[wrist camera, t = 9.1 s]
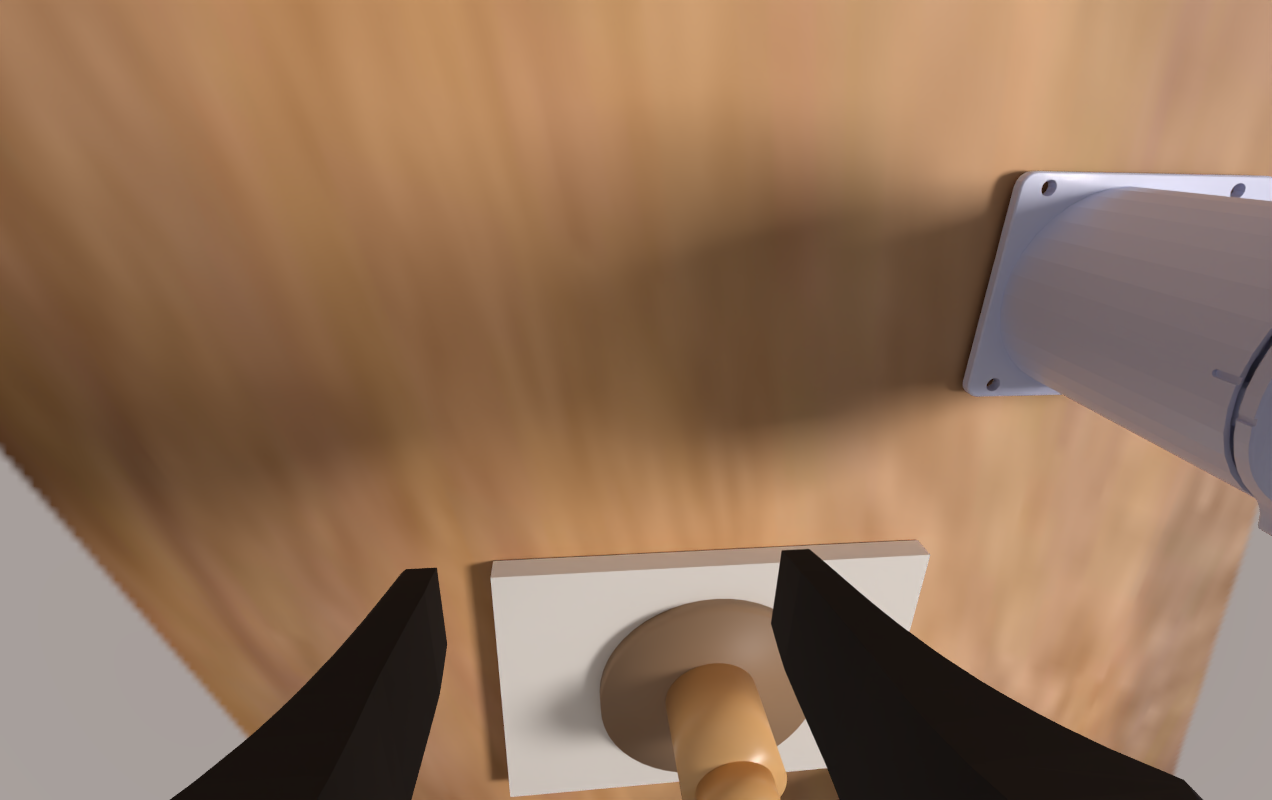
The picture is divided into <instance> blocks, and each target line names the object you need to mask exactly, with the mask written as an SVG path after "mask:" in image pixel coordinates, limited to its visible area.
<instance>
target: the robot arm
mask: <svg viewBox="0 0 1272 800" xmlns="http://www.w3.org/2000/svg"><path fill="white" fill-rule="evenodd" d="M1046 181H1047V182H1048V188H1047V190H1046V192H1044V193H1043V194H1042V192H1041V190H1042V186H1043V184H1044V183H1045V182H1046ZM1233 187H1234V189H1233ZM1232 189H1233V192H1232V193H1231V190H1232ZM1230 193H1231V195H1230ZM991 379H993V382H992V384H991V385H989V386H987V383H988V382H989V381H990V380H991ZM963 388H964V390H965V391H966V392H967V393H969V394H970V395H972V396H976V397H981V396H1025V395H1064V396H1066V397H1068V398H1070V399H1072V400H1073V401H1075V402H1077V403H1079V404H1081V405H1083V406H1085V407H1087V408H1088V409H1090V410H1092V411H1094V412H1096V413H1098V414H1100V415H1101V416H1103V417H1105V418H1107V419H1109V420H1111V421H1113V422H1114V423H1116V424H1118V425H1120V426H1122V427H1124V428H1126V429H1127V430H1129V431H1131V432H1133V433H1135V434H1137V435H1139V436H1141V437H1142V438H1144V439H1146V440H1148V441H1150V442H1152V443H1154V444H1155V445H1157V446H1159V447H1161V448H1163V449H1165V450H1167V451H1168V452H1170V453H1172V454H1174V455H1176V456H1178V457H1180V458H1181V459H1183V460H1185V461H1187V462H1189V463H1191V464H1193V465H1194V466H1196V467H1198V468H1200V469H1202V470H1204V471H1206V472H1208V473H1209V474H1211V475H1213V476H1215V477H1217V478H1219V479H1221V480H1222V481H1224V482H1226V483H1228V484H1230V485H1232V486H1234V487H1235V488H1237V489H1239V490H1241V491H1243V492H1245V493H1247V494H1248V495H1250V496H1252V497H1254V498H1255V499H1256V500H1257V502H1258V504H1259V508H1260V517H1259V522H1258V527H1259V529H1261V530H1262V531H1264V532H1266V533H1268V534H1269V535H1271V536H1272V177H1270V176H1260V175H1212V174H1163V173H1114V172H1065V171H1029V172H1025V173H1024V174H1022V175H1021V176H1020V177H1019V178H1018V179H1017V181H1016V183H1015V185H1014V188H1013V192H1012V196H1011V199H1010V203H1009V207H1008V211H1007V215H1006V219H1005V222H1004V226H1003V230H1002V234H1001V238H1000V242H999V245H998V249H997V253H996V257H995V261H994V265H993V268H992V272H991V276H990V280H989V284H988V288H987V291H986V295H985V299H984V303H983V307H982V311H981V314H980V318H979V322H978V326H977V330H976V334H975V337H974V341H973V345H972V349H971V353H970V357H969V360H968V364H967V368H966V372H965V376H964V380H963ZM771 626H772V629H773V633H774V636H775V640H776V644H777V647H778V650H779V654H780V657H781V660H782V663H783V667H784V670H785V672H786V674H787V677H788V679H789V682H790V684H791V686H792V689H793V691H794V693H795V696H796V698H797V700H798V703H799V705H800V707H801V709H802V712H803V714H804V716H805V719H806V721H807V723H808V725H809V728H810V730H811V732H812V735H813V737H814V739H815V741H816V744H817V746H818V748H819V750H820V753H821V755H822V757H823V760H824V762H825V764H826V766H827V769H828V771H829V774H830V776H831V779H832V781H833V784H834V786H835V789H836V791H837V794H838V797H839V800H1203V799H1202V798H1201V797H1200V796H1199V795H1198V794H1197V793H1196V792H1195V791H1194V790H1193V789H1192V788H1191V787H1190V786H1189V785H1188V784H1187V783H1186V782H1185V781H1184V780H1182V779H1180V778H1178V777H1175V776H1173V775H1171V774H1168V773H1166V772H1164V771H1161V770H1159V769H1156V768H1154V767H1152V766H1149V765H1147V764H1145V763H1142V762H1140V761H1137V760H1135V759H1133V758H1130V757H1128V756H1126V755H1123V754H1121V753H1118V752H1116V751H1114V750H1111V749H1109V748H1107V747H1105V746H1103V745H1101V744H1098V743H1096V742H1094V741H1092V740H1090V739H1088V738H1086V737H1084V736H1082V735H1080V734H1078V733H1076V732H1074V731H1071V730H1069V729H1067V728H1065V727H1063V726H1061V725H1059V724H1057V723H1055V722H1053V721H1051V720H1050V719H1048V718H1046V717H1044V716H1042V715H1040V714H1038V713H1036V712H1034V711H1032V710H1031V709H1029V708H1027V707H1025V706H1023V705H1022V704H1020V703H1018V702H1016V701H1015V700H1013V699H1011V698H1009V697H1007V696H1006V695H1004V694H1002V693H1000V692H999V691H997V690H995V689H994V688H992V687H990V686H988V685H987V684H985V683H983V682H982V681H980V680H979V679H977V678H975V677H974V676H972V675H971V674H969V673H968V672H966V671H965V670H963V669H962V668H960V667H958V666H957V665H955V664H954V663H952V662H951V661H949V660H948V659H946V658H945V657H943V656H942V655H940V654H939V653H937V652H936V651H935V650H933V649H932V648H930V647H929V646H928V645H926V644H925V643H924V642H922V641H921V640H919V639H918V638H917V637H915V636H914V635H913V634H911V633H910V632H909V631H907V630H906V629H905V628H903V627H902V626H901V625H899V624H898V623H897V622H896V621H894V620H893V619H892V618H891V617H889V616H888V615H887V614H886V613H884V612H883V611H882V610H881V609H879V608H878V607H877V606H876V605H874V604H873V603H872V602H871V601H870V600H868V599H867V598H866V597H865V596H864V595H863V594H861V593H860V592H859V591H858V590H857V589H855V588H854V587H853V586H852V585H851V584H850V583H848V582H847V581H846V580H845V579H844V578H843V577H842V576H840V575H839V574H838V573H837V572H836V571H835V570H833V569H832V568H831V567H830V566H829V565H828V564H827V563H825V562H824V561H823V560H822V559H821V558H820V557H818V556H817V555H816V554H815V553H814V552H812V551H811V550H810V549H796V550H782V552H781V558H780V565H779V572H778V579H777V585H776V592H775V599H774V606H773V612H772V619H771ZM446 649H447V640H446V632H445V625H444V618H443V610H442V603H441V595H440V588H439V581H438V573H437V568H422V569H406V570H405V571H403V572H402V573H401V574H400V576H399V577H398V578H397V579H396V581H395V582H394V583H393V584H392V586H391V587H390V588H389V590H388V591H387V592H386V593H385V595H384V596H383V597H382V598H381V600H380V601H379V602H378V603H377V605H376V606H375V607H374V608H373V609H372V611H371V612H370V613H369V614H368V615H367V617H366V618H365V619H364V620H363V621H362V623H361V624H360V625H359V626H358V627H357V628H356V630H355V631H354V632H353V633H352V634H351V635H350V637H349V638H348V639H347V640H346V641H345V642H344V643H343V645H342V646H341V647H340V648H339V649H338V650H337V651H336V652H335V654H334V655H333V656H332V657H331V658H330V659H329V660H328V661H327V662H326V663H325V664H324V665H323V666H322V667H321V668H320V669H319V671H318V672H317V673H316V674H315V675H314V676H313V677H312V678H311V679H310V680H309V681H308V682H307V683H306V684H305V685H304V686H303V687H302V688H301V689H300V690H299V691H298V692H297V693H296V694H295V695H294V696H293V697H292V698H291V699H290V700H289V701H288V702H287V703H286V704H285V705H284V706H283V707H282V708H281V709H280V710H279V711H278V712H276V713H275V714H274V715H273V716H272V717H271V718H270V719H269V720H268V721H267V722H266V723H264V724H263V725H262V726H261V727H260V728H259V729H258V730H257V731H256V732H254V733H253V734H252V735H251V736H250V737H249V738H247V739H246V740H245V741H244V742H243V743H242V744H240V745H239V746H238V747H237V748H235V749H234V750H233V751H232V752H231V753H229V754H228V755H227V756H226V757H224V758H223V759H222V760H221V761H219V762H218V763H217V764H216V765H215V766H213V767H212V768H211V769H210V770H208V771H207V772H206V773H205V774H203V775H202V776H201V777H200V778H198V779H197V780H196V781H194V782H193V783H192V784H191V785H189V786H188V787H187V788H185V789H184V790H182V791H181V792H180V793H178V794H177V795H176V796H174V797H173V798H172V799H170V800H411V799H412V795H413V791H414V788H415V784H416V780H417V777H418V773H419V769H420V766H421V762H422V758H423V755H424V751H425V747H426V744H427V740H428V736H429V733H430V729H431V725H432V721H433V718H434V714H435V710H436V706H437V702H438V699H439V695H440V689H441V683H442V676H443V670H444V663H445V656H446Z"/></svg>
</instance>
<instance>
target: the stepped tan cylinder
mask: <svg viewBox="0 0 1272 800" xmlns="http://www.w3.org/2000/svg"><path fill="white" fill-rule="evenodd" d="M665 705H666V711H667V717H668V723H669V728H670V734H671V739H672V745H673V750H674V756H675V762H676V767H677V773H678V778H679V784H680V789H681V795H682V800H781V799H780V797H781V795H782V794H783V792H784V790H785V788H786V784H787V774H786V771H785V768H784V765H783V762H782V759H781V757H780V754H779V751H778V748H777V745H776V742H775V739H774V736H773V734H772V731H771V728H770V725H769V722H768V719H767V716H766V713H765V710H764V708H763V705H762V702H761V699H760V696H759V693H758V690H757V687H756V685H755V682H754V680H753V678H752V677H751V675H750V674H749V673H748V672H746V671H745V670H743V669H742V668H740V667H737V666H735V665H731V664H725V663H713V664H706V665H702V666H699V667H696V668H694V669H691V670H689V671H688V672H686V673H684V674H683V675H681V676H680V677H679V678H678V679H677V680H676V681H675V682H674V683H673V684H672V685H671V687H670V688H669V690H668V692H667V695H666V700H665Z"/></svg>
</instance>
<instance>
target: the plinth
mask: <svg viewBox="0 0 1272 800" xmlns="http://www.w3.org/2000/svg"><path fill="white" fill-rule="evenodd" d="M796 549H810V550H811V551H812V552H814V553H815V554H816V555H817V556H818V557H820V558H821V559H822V560H823V561H824V562H825V563H827V564H828V565H829V566H830V567H831V568H832V569H833V570H835V571H836V572H837V573H838V574H839V575H840V576H842V577H843V578H844V579H845V580H846V581H847V582H848V583H850V584H851V585H852V586H853V587H854V588H855V589H857V590H858V591H859V592H860V593H861V594H863V595H864V596H865V597H866V598H867V599H868V600H870V601H871V602H872V603H873V604H874V605H876V606H877V607H878V608H879V609H881V610H882V611H883V612H884V613H886V614H887V615H888V616H889V617H891V618H892V619H893V620H894V621H896V622H897V623H898V624H899V625H901V626H902V627H903V628H905V629H906V630H907V631H910V628H911V624H912V620H913V616H914V613H915V609H916V605H917V602H918V598H919V594H920V591H921V587H922V583H923V580H924V576H925V572H926V569H927V565H928V561H929V557H930V554H929V553H928V552H927V550H926V549H925V548H924V547H923V546H922V545H921V543H920V542H919V541H918V540H908V541H888V542H867V543H847V544H827V545H807V546H787V547H767V548H746V549H726V550H706V551H686V552H666V553H646V554H625V555H605V556H585V557H565V558H545V559H524V560H504V561H493V566H492V572H491V588H492V599H493V610H494V621H495V632H496V643H497V654H498V665H499V676H500V687H501V698H502V709H503V720H504V731H505V742H506V753H507V764H508V775H509V786H510V797H515V796H526V795H537V794H548V793H559V792H570V791H581V790H592V789H603V788H614V787H625V786H636V785H647V784H658V783H669V782H679V778H678V773H677V767H676V762H675V756H674V750H673V745H672V739H671V734H670V728H669V723H668V717H667V711H666V705H665V700H666V695H667V692H668V690H669V688H670V687H671V685H672V684H673V683H674V682H675V681H676V680H677V679H678V678H679V677H680V676H681V675H683V674H684V673H686V672H688V671H689V670H691V669H694V668H696V667H699V666H702V665H706V664H713V663H725V664H731V665H735V666H737V667H740V668H742V669H743V670H745V671H746V672H748V673H749V674H750V675H751V677H752V678H753V680H754V682H755V685H756V687H757V690H758V693H759V696H760V699H761V702H762V705H763V708H764V710H765V713H766V716H767V719H768V722H769V725H770V728H771V731H772V734H773V736H774V739H775V742H776V745H777V748H778V751H779V754H780V757H781V759H782V762H783V765H784V768H785V771H786V772H790V771H801V770H812V769H823V768H827V766H826V764H825V762H824V760H823V757H822V755H821V753H820V750H819V748H818V746H817V744H816V741H815V739H814V737H813V735H812V732H811V730H810V728H809V725H808V723H807V721H806V719H805V716H804V714H803V712H802V709H801V707H800V705H799V703H798V700H797V698H796V696H795V693H794V691H793V689H792V686H791V684H790V682H789V679H788V677H787V674H786V672H785V670H784V667H783V663H782V660H781V657H780V654H779V650H778V647H777V644H776V640H775V636H774V633H773V629H772V626H771V619H772V612H773V606H774V599H775V592H776V585H777V579H778V572H779V565H780V558H781V552H782V550H796Z"/></svg>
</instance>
